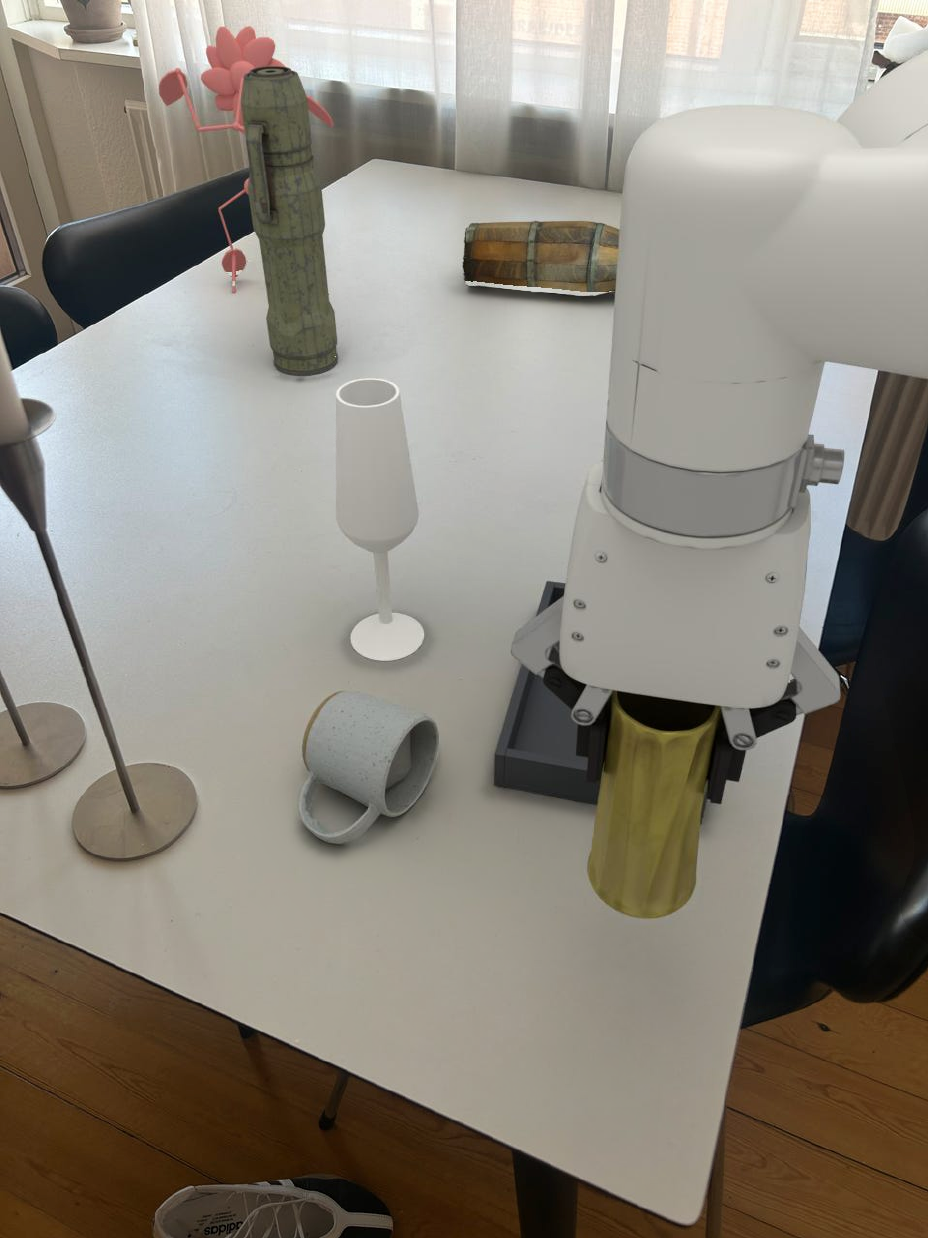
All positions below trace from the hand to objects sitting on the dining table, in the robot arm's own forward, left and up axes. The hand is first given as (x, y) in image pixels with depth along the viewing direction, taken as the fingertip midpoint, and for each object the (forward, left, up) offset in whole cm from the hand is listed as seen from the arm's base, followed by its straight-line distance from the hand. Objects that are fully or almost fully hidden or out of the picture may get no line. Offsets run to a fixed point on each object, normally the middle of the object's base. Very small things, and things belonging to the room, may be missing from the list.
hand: (655, 769), depth 49 cm
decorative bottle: (+16, -112, -20) cm, 115 cm away
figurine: (+68, -107, -20) cm, 129 cm away
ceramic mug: (+20, -10, -20) cm, 30 cm away
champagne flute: (+24, -28, -20) cm, 42 cm away
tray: (+3, -24, -19) cm, 31 cm away
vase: (0, 0, -9) cm, 9 cm away
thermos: (+52, -80, -20) cm, 98 cm away
